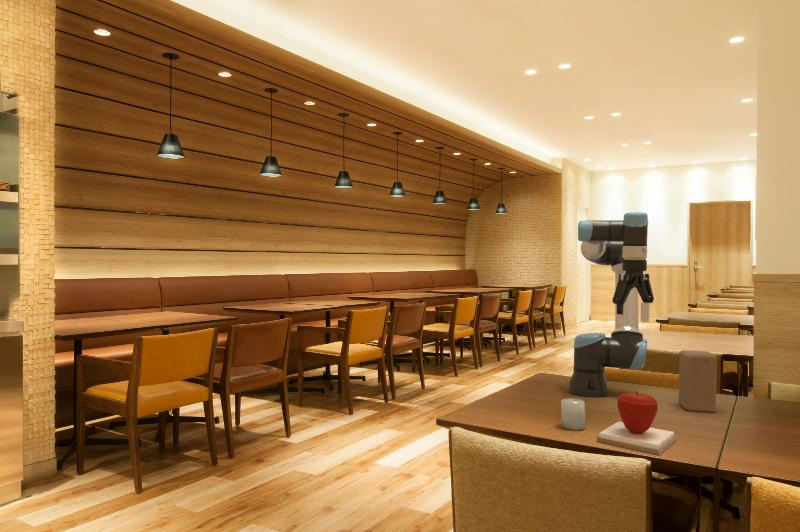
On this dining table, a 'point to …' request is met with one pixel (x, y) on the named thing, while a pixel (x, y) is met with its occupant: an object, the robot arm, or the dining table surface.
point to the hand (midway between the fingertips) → (633, 323)
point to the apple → (637, 411)
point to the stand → (637, 438)
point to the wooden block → (697, 380)
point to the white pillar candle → (573, 413)
